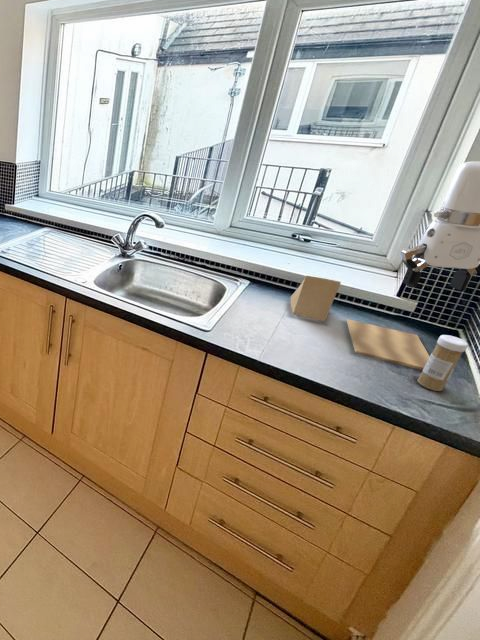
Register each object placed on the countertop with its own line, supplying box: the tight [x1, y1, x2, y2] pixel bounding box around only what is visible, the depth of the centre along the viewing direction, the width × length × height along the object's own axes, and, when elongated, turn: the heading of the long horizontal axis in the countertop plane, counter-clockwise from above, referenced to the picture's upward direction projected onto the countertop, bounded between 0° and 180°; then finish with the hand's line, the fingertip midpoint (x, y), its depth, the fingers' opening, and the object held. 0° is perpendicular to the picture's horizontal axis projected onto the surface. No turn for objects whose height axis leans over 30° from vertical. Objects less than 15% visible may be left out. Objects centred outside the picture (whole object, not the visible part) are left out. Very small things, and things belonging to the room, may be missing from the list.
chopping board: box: [345, 318, 430, 371], centre depth 119 cm, size 16×22×2 cm
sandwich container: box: [290, 275, 342, 322], centre depth 136 cm, size 9×15×15 cm, turn 147°
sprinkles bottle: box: [416, 334, 469, 392], centre depth 100 cm, size 5×5×14 cm
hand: (432, 286), depth 100 cm, fingers open, 9 cm apart
